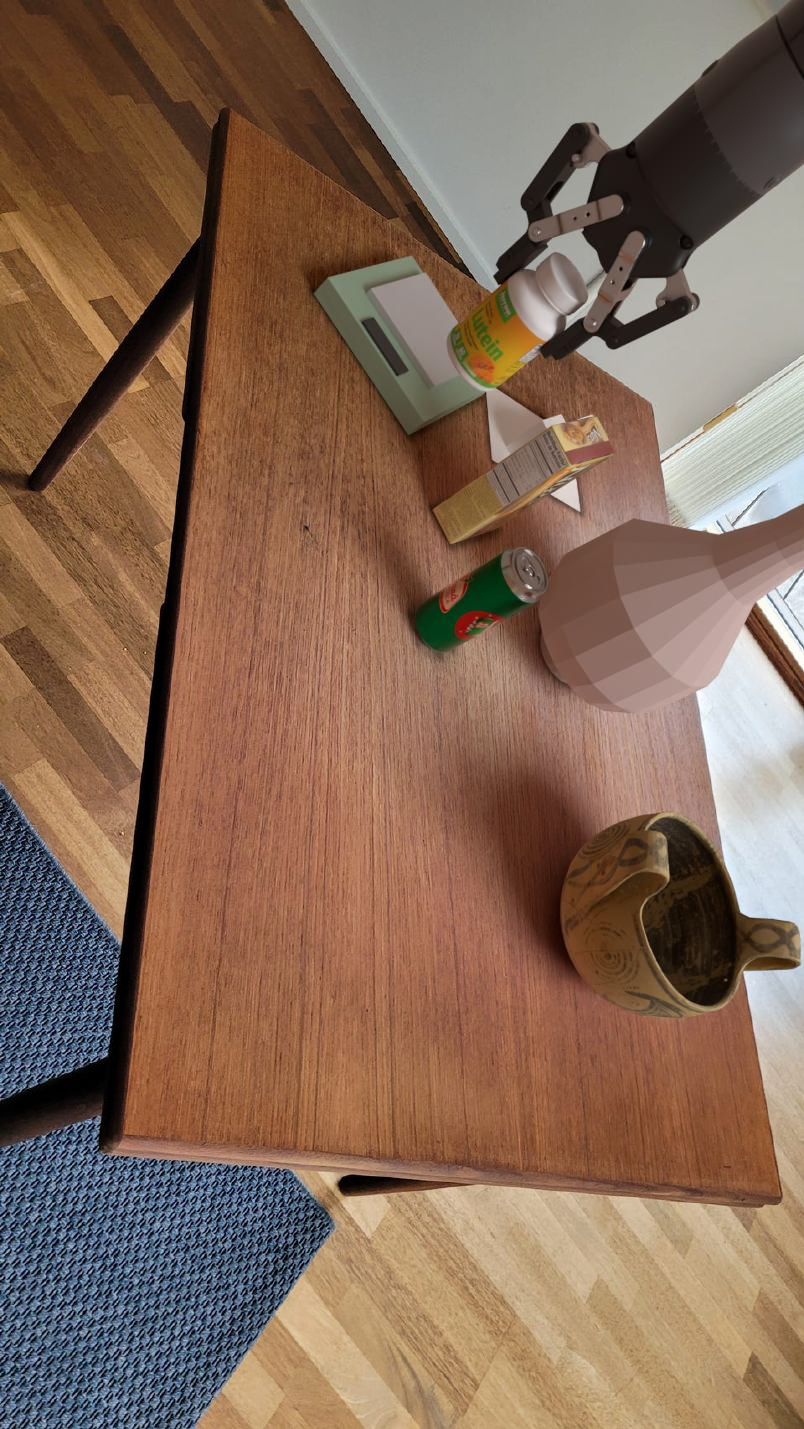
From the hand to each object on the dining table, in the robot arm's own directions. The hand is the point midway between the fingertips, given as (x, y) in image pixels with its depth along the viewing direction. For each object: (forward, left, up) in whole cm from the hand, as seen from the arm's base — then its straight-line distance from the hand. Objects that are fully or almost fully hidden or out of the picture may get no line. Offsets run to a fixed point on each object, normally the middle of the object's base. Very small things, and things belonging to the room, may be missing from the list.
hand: (524, 315), depth 65 cm
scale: (-8, +21, -22) cm, 32 cm away
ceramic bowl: (+46, -7, -23) cm, 52 cm away
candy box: (+10, +13, -23) cm, 28 cm away
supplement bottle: (0, 0, -6) cm, 6 cm away
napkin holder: (+8, +33, -23) cm, 41 cm away
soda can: (+16, -1, -23) cm, 28 cm away
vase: (+27, +14, -23) cm, 38 cm away
